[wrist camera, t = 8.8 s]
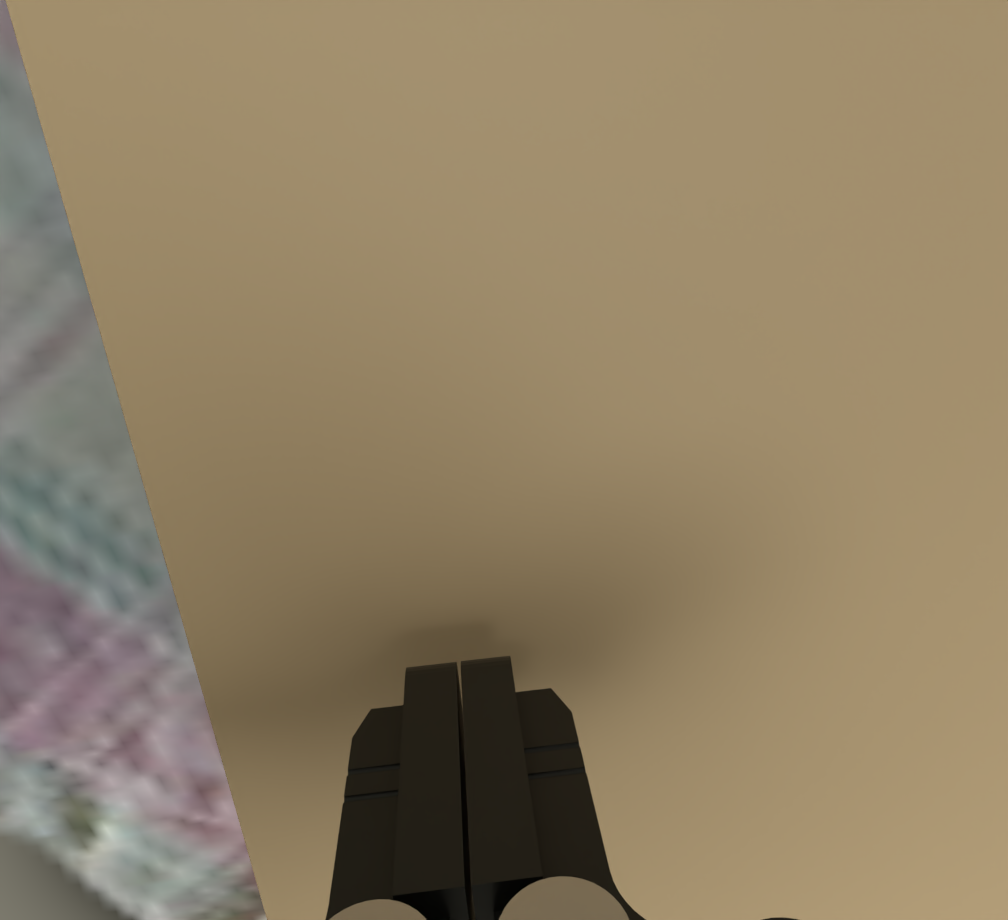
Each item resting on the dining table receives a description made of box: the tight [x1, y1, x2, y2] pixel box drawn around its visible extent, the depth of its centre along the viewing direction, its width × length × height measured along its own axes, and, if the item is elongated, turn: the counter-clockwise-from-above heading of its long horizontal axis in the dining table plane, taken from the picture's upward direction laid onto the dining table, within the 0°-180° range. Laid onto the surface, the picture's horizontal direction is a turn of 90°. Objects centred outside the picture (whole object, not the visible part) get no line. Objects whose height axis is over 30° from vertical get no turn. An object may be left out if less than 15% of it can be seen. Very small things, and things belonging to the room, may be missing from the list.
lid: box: [6, 0, 1008, 920], centre depth 13 cm, size 22×18×1 cm
